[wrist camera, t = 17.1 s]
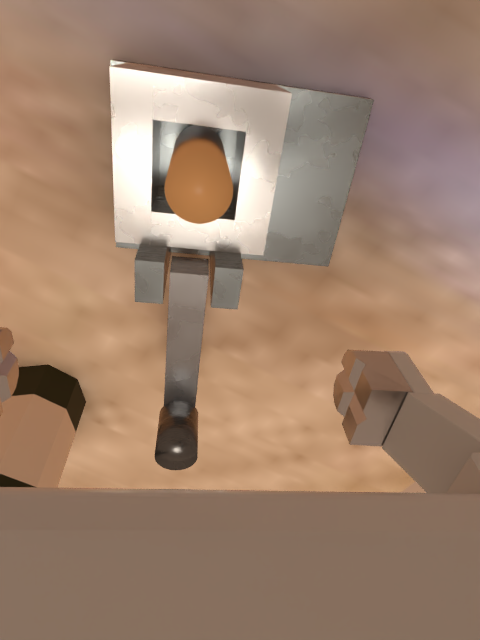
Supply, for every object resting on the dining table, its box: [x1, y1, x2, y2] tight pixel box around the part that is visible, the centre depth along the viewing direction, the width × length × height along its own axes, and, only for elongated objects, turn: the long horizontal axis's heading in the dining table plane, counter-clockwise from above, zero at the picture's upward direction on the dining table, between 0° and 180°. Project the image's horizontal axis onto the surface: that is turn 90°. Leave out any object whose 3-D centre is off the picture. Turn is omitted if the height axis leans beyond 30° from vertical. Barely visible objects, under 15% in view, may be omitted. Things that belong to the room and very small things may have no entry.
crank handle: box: [155, 256, 208, 470], centre depth 29 cm, size 3×14×6 cm, turn 173°
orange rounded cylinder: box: [165, 125, 233, 224], centre depth 26 cm, size 4×4×10 cm
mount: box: [110, 60, 374, 309], centre depth 28 cm, size 18×13×10 cm
